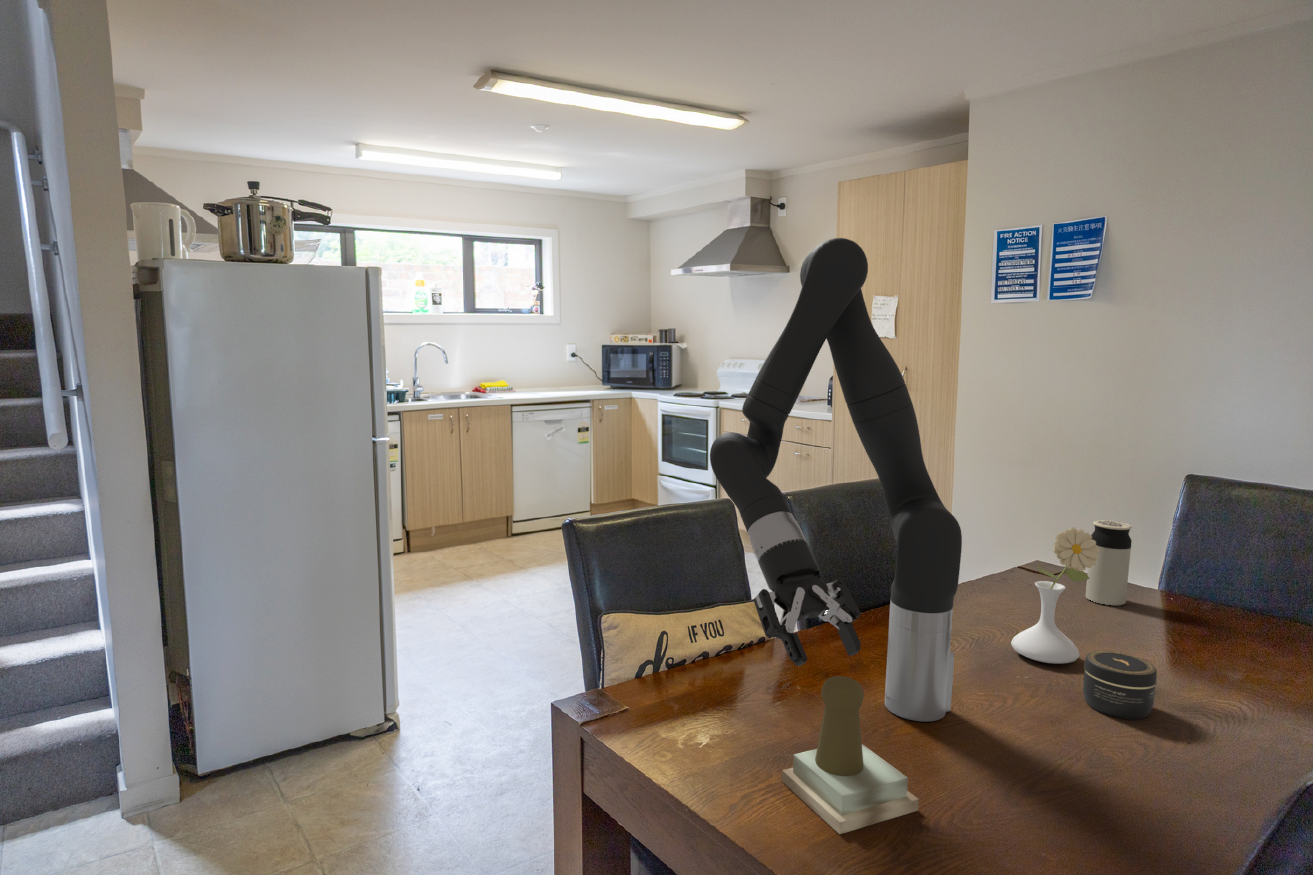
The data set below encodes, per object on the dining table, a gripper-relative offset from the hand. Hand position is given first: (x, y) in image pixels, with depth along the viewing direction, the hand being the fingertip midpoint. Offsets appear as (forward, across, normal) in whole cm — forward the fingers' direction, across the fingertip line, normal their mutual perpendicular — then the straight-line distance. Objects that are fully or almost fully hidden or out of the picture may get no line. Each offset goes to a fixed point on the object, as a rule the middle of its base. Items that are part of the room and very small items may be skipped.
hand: (829, 658), depth 101 cm
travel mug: (-11, +104, +36) cm, 110 cm away
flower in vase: (+1, +63, +23) cm, 67 cm away
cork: (+12, -1, +6) cm, 13 cm away
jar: (+14, +56, +10) cm, 58 cm away
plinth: (+15, 0, +8) cm, 17 cm away
